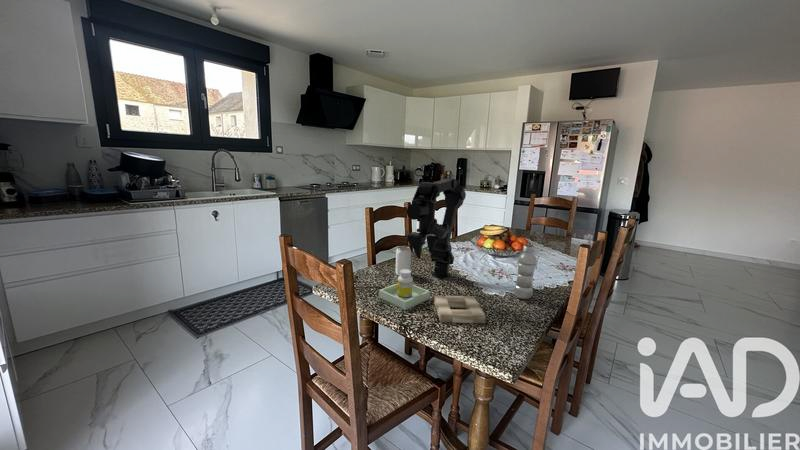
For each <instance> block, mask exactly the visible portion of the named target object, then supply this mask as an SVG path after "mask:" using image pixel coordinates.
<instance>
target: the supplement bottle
mask: <svg viewBox="0 0 800 450" xmlns="http://www.w3.org/2000/svg"><path fill="white" fill-rule="evenodd" d="M397 283H398V292H397V296H398V298H401V299H404V300H407V299H410V298H412V290H413V285H414V284H413V283H414V278H413V277H412V271H411V269H410V270H408V269H403V270H400V276H398V277H397Z"/></svg>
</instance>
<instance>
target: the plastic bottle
mask: <svg viewBox="0 0 800 450" xmlns="http://www.w3.org/2000/svg"><path fill="white" fill-rule="evenodd" d="M522 251H523V252H522V253H520V254H519V256H518V258H517V277H516V281H515V284H514V288H513V294H514V296H515V297H516V298H518V299H521V300H529V299H531V298H532V296H533V294H534V293H533V291H534V289H533V282H534V281H533V280H534V279H533V278H534V273H535V269H536V266H537V262H538V260H537V257H536V255H535V254H534V253H535V246H534V245H531V244H524V245H523V248H522Z"/></svg>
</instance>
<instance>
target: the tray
mask: <svg viewBox="0 0 800 450" xmlns="http://www.w3.org/2000/svg"><path fill="white" fill-rule="evenodd" d="M397 292H398V282H397V283H394V284H391V285H389V286H386V287H383V288H381V289H379V290H378V298H379V299H381V300H383V301H384V302H387V303H388V304H390V305H393V306H394V307H397V308H398V309H401V310H402V311H403V310H404V311H407V310H409V309H411V308H413V307H416V306H417V305H420V304H422V303H424V302H426V301H429V300H430V297H431V296H430V295H431V291H430V290H427V289H425V288H423V287H420V286H418V285H415V284H413V290H412V298H410V299H407V300H404V299H401V298H398V296H397Z"/></svg>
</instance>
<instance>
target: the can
mask: <svg viewBox="0 0 800 450" xmlns="http://www.w3.org/2000/svg"><path fill="white" fill-rule="evenodd" d="M411 263H412V250H411V247H409V246H407V245H405V246H404V245H402V246H401V245H400V246H397V247H396V251H395V274H396V276H398V277H399V276H400V270H403V269H408V270H410V271H411V266H412V265H411Z"/></svg>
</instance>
